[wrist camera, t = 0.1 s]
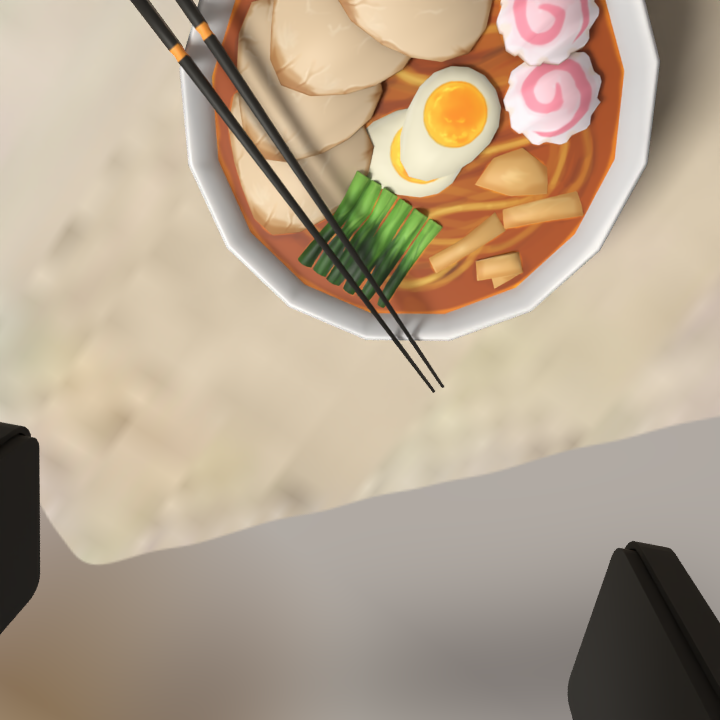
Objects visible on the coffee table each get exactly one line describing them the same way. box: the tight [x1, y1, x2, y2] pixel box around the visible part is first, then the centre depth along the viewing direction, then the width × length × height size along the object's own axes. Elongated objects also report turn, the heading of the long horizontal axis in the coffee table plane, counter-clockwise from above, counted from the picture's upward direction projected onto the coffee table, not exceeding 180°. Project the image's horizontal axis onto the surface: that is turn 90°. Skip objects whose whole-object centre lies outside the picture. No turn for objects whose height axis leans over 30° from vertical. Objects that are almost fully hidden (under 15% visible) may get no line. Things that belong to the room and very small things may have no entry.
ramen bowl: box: [131, 0, 660, 393], centre depth 33 cm, size 25×23×8 cm
